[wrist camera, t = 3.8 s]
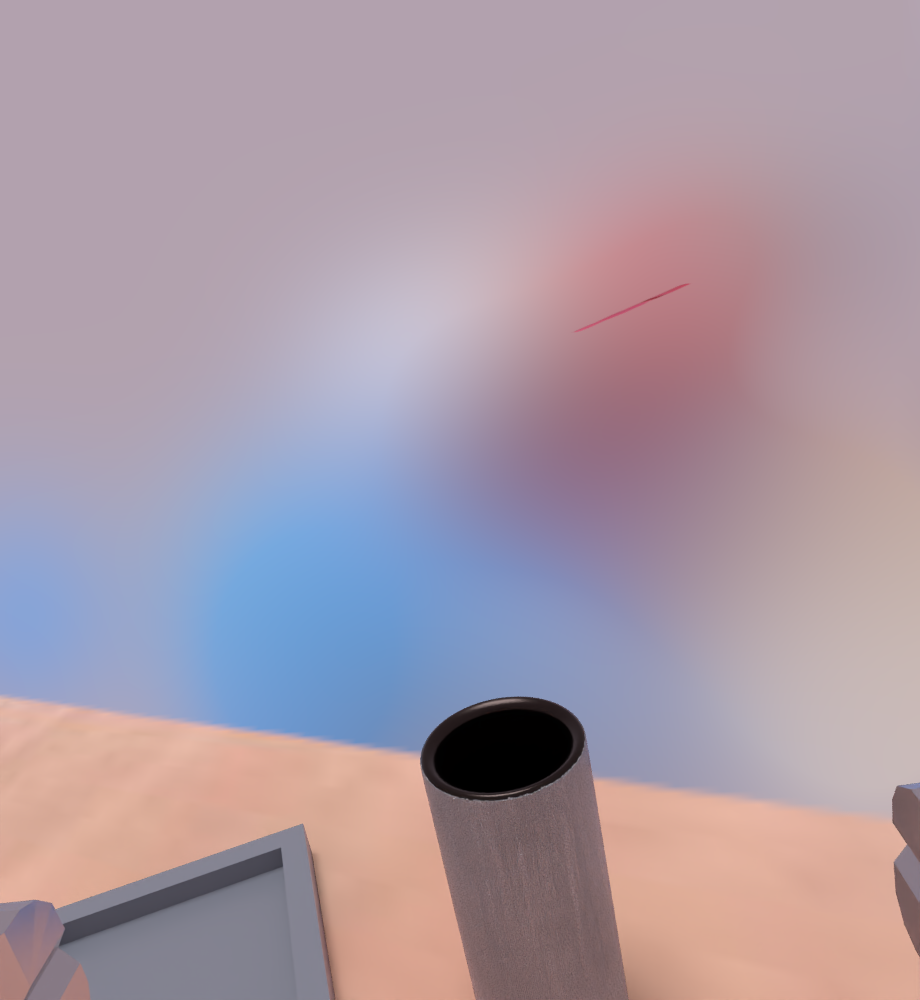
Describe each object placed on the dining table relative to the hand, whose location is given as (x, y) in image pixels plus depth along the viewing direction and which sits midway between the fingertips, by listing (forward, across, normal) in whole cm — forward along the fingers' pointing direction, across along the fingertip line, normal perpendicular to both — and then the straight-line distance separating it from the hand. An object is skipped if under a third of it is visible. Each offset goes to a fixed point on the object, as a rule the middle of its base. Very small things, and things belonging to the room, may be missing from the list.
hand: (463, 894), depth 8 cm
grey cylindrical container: (+12, -1, -18) cm, 21 cm away
